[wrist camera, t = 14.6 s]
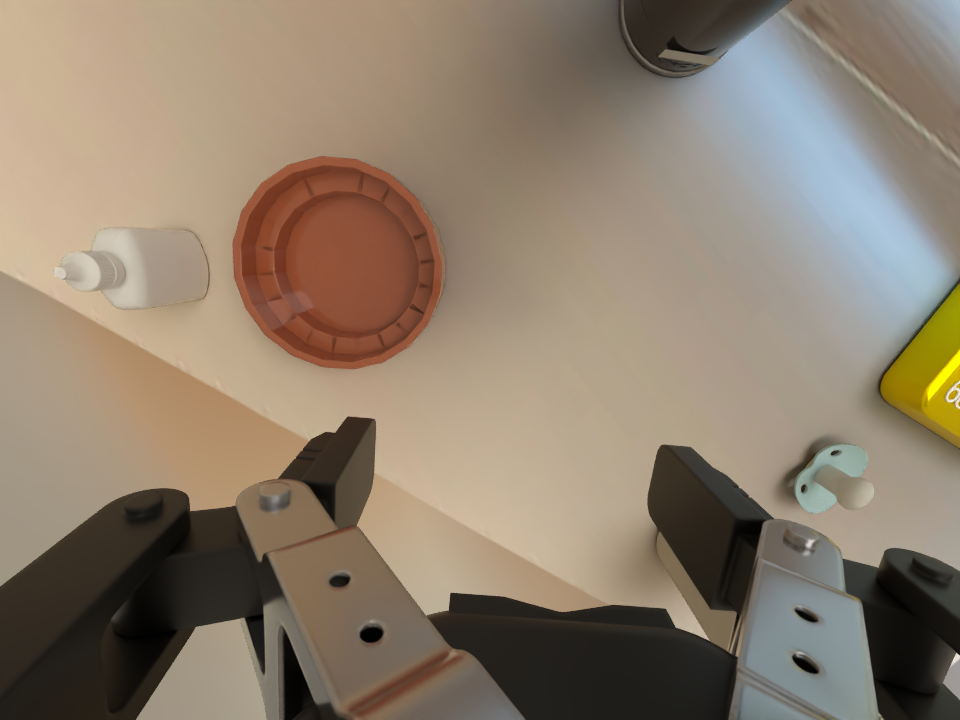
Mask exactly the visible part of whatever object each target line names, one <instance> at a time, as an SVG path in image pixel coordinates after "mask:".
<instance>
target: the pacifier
mask: <svg viewBox="0 0 960 720" xmlns="http://www.w3.org/2000/svg"><path fill="white" fill-rule="evenodd" d="M835 450H839V452H838V453H837V454H835V455H830V454H831V452H833V451H835ZM867 464H868V456H867V454H866V452H865V451H864V450H863V449H861V448H860V447H858V446H855V445H852V444H846V443H838V444H833V445H829V446H827V447H825V448H823V449H821V450H820V451H819V452H818V453H817V454H816V455H815V457H814V458H813V459H812V460H811V461H810V462H809V463H808V464H807V465H806V467H805V469H803V470H802V471H801V472H800V473H799V474H798V476H797V477H796V479H795V483H794V494H795V497H796V499H797V501H798V503H799V504H800V506H801V507H803V508H804V509H805V510H806V511H808V512H810V513H821V512H824V511H826V510H828V509H829V508H830V507H831V506H833V505H834V504H835V503H836V502H839V504H840V505H842V506H843V507H844V508H846V509H848V510H857V509H860V508H863V507H864V506H866V505H867V504H868V503H869V502H870V501H871V499H872V498H873V495H874V487H873V485H872V483H871V482H870V481H868V480H866V479H864V478H860V476H861V474H862V473H863V472H864V470H865V468H866V467H867ZM804 484H805V491H804V492H801V487H802V485H804Z"/></svg>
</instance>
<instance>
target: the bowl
mask: <svg viewBox="0 0 960 720" xmlns="http://www.w3.org/2000/svg"><path fill="white" fill-rule="evenodd" d="M445 259H446V258H445V254H444V250H443V246H442V242H441V238H440V234H439V230H438V228H437V227H436V225H435V223H434V222H433V220H432V218H431V217H430V215H429V213H428V212H427V210H426V209H425V207H424V205H423V204H422V203H421V202H420V201H419V200H418V199H417V198H416V197H415V196H414V195H413V194H411V193H410V192H409V191H408V190H407V189H406V188H405V187H404V186H402V185H401V184H400V183H399V182H398V181H397V180H396V179H394V178H393V177H392V176H391V175H390V174H388V173H386V172H384V171H382V170H380V169H377V168H375V167H373V166H370V165H368V164H366V163H364V162H361V161H359V160H356V159H347V158H336V157H325V156H322V157H321V156H320V157H316V158H313V159H309V160H305V161H301V162H297V163H293V164H289V165H287V166H286V167H284V168H283V169H282V170H280V171H279V172H277V173H276V174H274V175H273V176H271V177H270V178H268V179H267V180H266V181H264V182H263V183H261V184H260V186H259V187H258V189H257V190H256V191H255V193H254V194H253V196H252V197H251V198H250V200H249V201H248V203H247V204H246V206H245V207H244V208H243V210H242V212H241V215H240V219H239V222H238V226H237V229H236V233H235V237H234V240H233V261H234V278H235V281H236V283H237V286H238V289H239V292H240V294H241V297H242V300H243V302H244V305H245V308H246V310H247V311H248V312H249V314H250V315H251V316H252V318H253V319H254V320H255V322H256V323H257V324H258V326H259V327H260V329H261V330H262V331H263V333H264V334H265V335H266V336H267V337H268V338H270V339H271V340H272V341H274V342H275V343H276V344H278V345H279V346H280V347H282V348H283V349H284V350H286V351H287V352H288V353H289V354H291V355H293V356H295V357H297V358H300V359H303V360H305V361H308V362H310V363H313V364H316V365H318V366H321V367H329V368H342V369H357V368H361V367H366V366H370V365H374V364H378V363H382V362H385V361H386V360H388V359H389V358H391V357H393V356H394V355H396V354H398V353H399V352H401V351H402V350H404V349H406V348H407V347H409V346H410V345H411V344H412V342H413V341H414V340H415V339H416V338H417V336H418V335H419V334H420V333H421V332H422V330H423V329H424V328H425V327H426V326H427V325H428V323H429V322H430V320H431V318H432V317H433V315H434V313H435V310H436V308H437V305H438V303H439V300H440V298H441V295H442V293H443V290H444V283H445V266H446V260H445Z"/></svg>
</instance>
